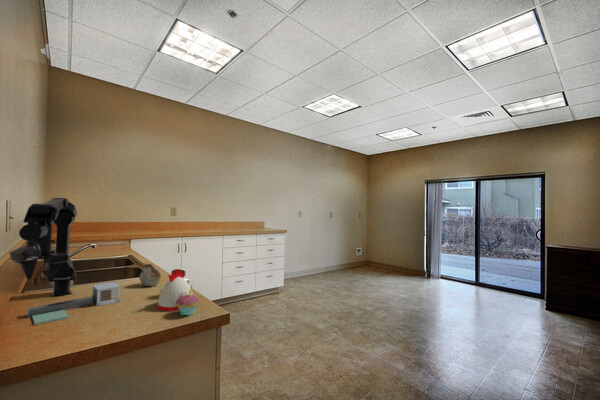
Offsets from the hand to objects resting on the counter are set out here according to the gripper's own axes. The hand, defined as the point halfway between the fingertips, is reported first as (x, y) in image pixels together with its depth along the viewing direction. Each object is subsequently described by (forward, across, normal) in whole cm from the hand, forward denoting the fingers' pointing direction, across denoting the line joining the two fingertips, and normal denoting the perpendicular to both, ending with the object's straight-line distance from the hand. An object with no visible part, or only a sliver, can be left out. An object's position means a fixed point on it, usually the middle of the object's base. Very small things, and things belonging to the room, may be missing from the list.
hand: (39, 280), depth 102 cm
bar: (+13, +2, +8) cm, 16 cm away
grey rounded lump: (+13, +11, +45) cm, 49 cm away
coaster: (+13, +6, 0) cm, 14 cm away
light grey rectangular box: (+13, +34, +35) cm, 50 cm away
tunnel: (+13, +10, +19) cm, 25 cm away
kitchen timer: (+13, +40, +23) cm, 49 cm away
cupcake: (+13, +50, +16) cm, 54 cm away
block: (+13, +9, +19) cm, 25 cm away
